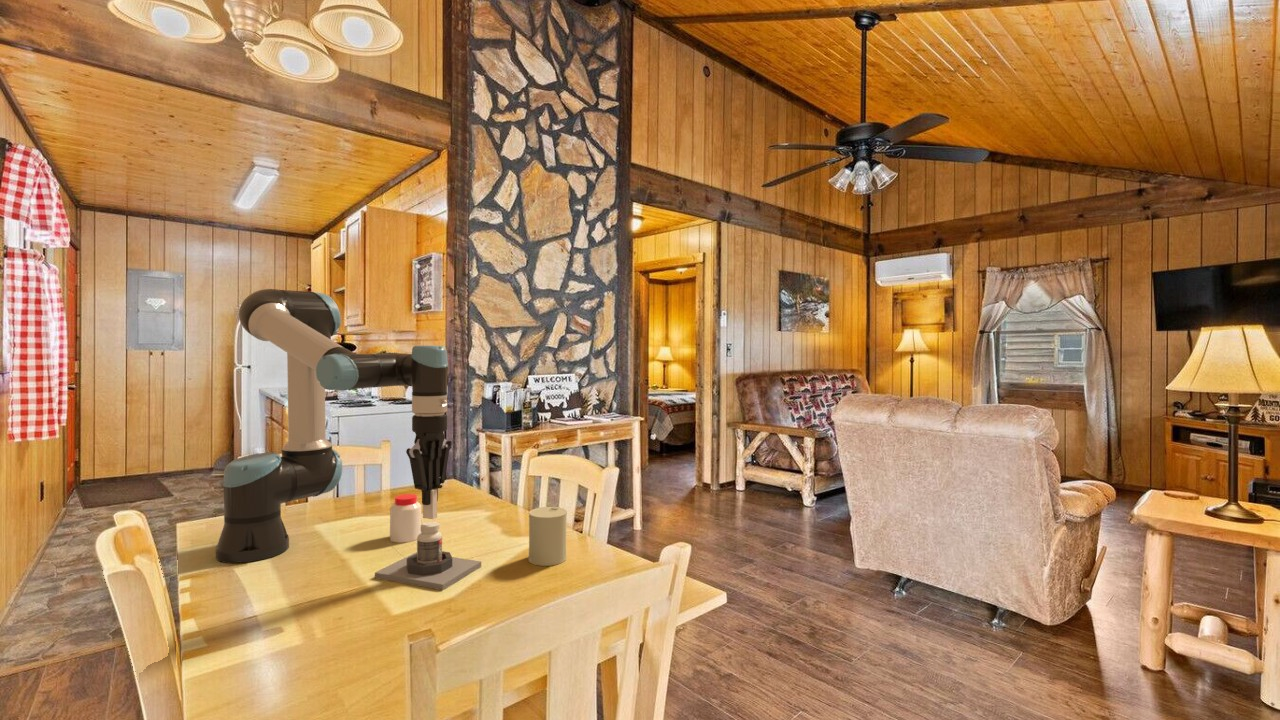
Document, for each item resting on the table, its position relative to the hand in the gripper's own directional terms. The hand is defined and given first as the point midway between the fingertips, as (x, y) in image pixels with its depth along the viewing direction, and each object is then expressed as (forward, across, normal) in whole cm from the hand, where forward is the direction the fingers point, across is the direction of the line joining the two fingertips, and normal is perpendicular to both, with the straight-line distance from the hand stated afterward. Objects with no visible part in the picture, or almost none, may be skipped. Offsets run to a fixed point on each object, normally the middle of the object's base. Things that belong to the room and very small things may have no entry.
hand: (430, 517), depth 135 cm
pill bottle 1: (+13, +17, +21) cm, 30 cm away
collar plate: (+13, 0, 0) cm, 13 cm away
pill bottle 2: (+12, 0, 0) cm, 12 cm away
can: (+13, +17, -21) cm, 30 cm away
